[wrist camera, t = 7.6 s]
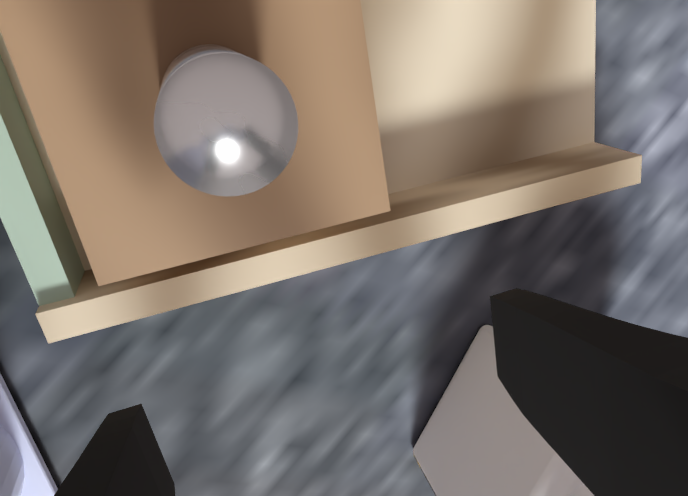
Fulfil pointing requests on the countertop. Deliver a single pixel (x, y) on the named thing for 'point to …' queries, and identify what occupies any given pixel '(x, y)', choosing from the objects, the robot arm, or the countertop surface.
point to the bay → (397, 149)
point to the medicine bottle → (488, 438)
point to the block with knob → (199, 122)
